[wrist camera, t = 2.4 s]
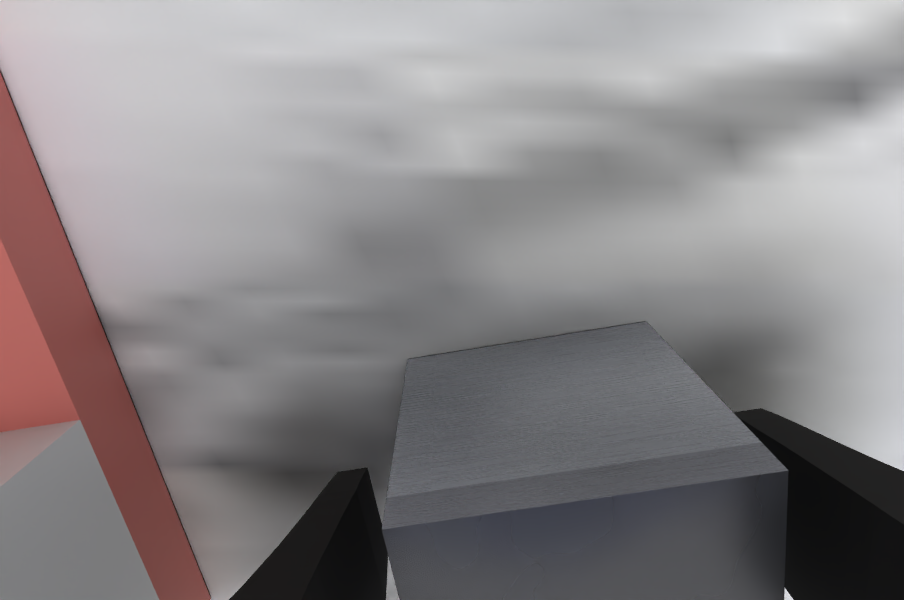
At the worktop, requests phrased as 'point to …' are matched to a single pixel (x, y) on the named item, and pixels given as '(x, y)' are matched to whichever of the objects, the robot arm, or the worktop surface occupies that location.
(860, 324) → the worktop surface
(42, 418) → the rail
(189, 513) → the worktop surface
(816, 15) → the worktop surface
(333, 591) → the robot arm
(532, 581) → the grey cube
